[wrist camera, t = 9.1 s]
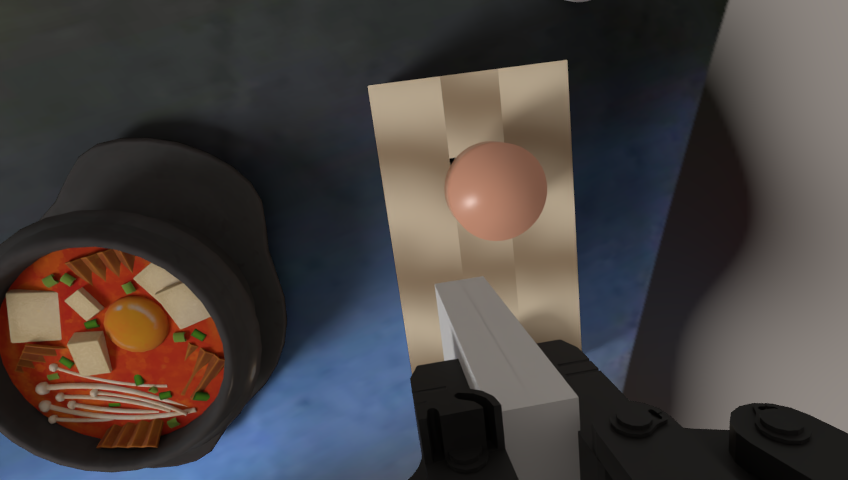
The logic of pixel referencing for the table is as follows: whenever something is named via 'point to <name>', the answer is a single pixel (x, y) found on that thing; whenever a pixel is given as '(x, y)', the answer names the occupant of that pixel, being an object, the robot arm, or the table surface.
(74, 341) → the casserole
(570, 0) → the milk bottle
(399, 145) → the board
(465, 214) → the terracotta plunger
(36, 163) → the table surface
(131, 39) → the table surface
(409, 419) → the table surface
